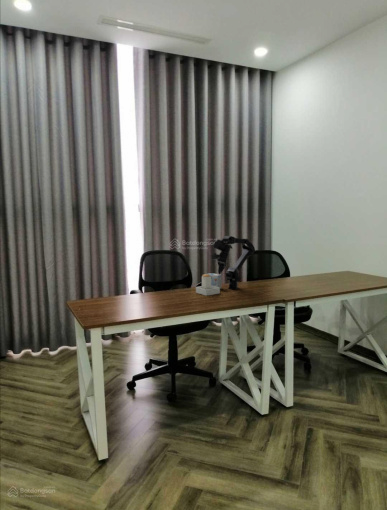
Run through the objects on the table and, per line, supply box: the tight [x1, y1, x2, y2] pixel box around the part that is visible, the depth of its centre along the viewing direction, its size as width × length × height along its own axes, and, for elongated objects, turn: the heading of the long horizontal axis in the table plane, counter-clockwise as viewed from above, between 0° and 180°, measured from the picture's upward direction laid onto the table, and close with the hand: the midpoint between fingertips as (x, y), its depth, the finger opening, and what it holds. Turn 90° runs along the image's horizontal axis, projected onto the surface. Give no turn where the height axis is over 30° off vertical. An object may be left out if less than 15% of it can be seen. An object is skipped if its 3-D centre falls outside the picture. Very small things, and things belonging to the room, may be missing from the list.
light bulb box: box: [207, 272, 222, 290], centre depth 273 cm, size 11×7×11 cm, turn 62°
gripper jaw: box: [201, 273, 211, 289], centre depth 257 cm, size 5×5×12 cm
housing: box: [195, 285, 221, 297], centre depth 258 cm, size 12×12×4 cm
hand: (218, 273), depth 260 cm, fingers open, 9 cm apart
